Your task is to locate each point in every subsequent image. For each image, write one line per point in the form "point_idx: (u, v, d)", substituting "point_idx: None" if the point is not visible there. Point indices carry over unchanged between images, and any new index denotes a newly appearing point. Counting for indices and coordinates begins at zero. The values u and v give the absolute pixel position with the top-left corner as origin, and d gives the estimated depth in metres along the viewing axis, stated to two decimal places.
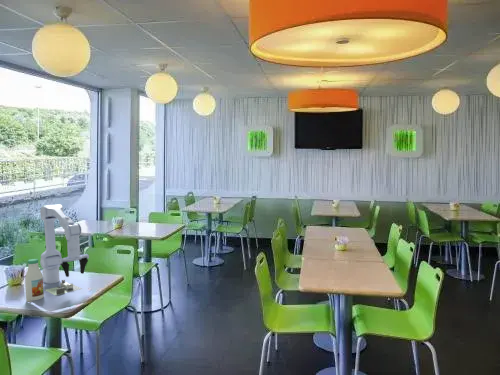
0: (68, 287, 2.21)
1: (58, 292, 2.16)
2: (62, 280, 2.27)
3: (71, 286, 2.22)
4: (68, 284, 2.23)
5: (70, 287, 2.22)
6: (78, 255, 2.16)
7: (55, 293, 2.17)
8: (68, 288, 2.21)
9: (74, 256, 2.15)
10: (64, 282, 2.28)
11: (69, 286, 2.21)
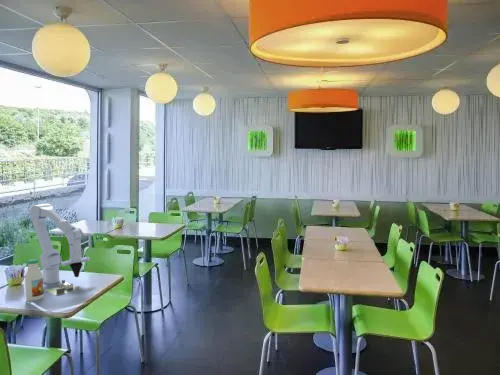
0: (68, 287, 2.21)
1: (58, 292, 2.16)
2: (62, 280, 2.27)
3: (71, 286, 2.22)
4: (68, 284, 2.23)
5: (70, 287, 2.22)
6: (79, 258, 2.30)
7: (55, 293, 2.17)
8: (68, 288, 2.21)
9: (76, 259, 2.28)
10: (64, 282, 2.28)
11: (69, 286, 2.21)
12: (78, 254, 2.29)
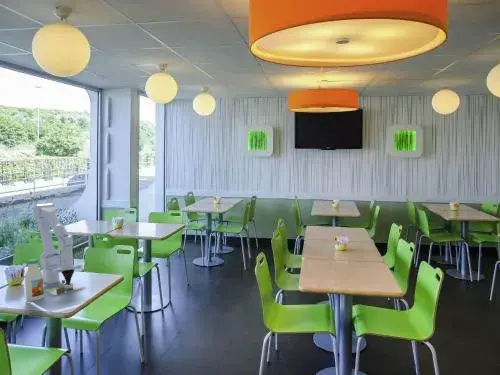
0: (68, 287, 2.21)
1: (58, 292, 2.16)
2: (62, 280, 2.27)
3: (71, 286, 2.22)
4: (68, 284, 2.23)
5: (70, 287, 2.22)
6: (71, 265, 2.27)
7: (55, 293, 2.17)
8: (68, 288, 2.21)
9: (67, 266, 2.25)
10: (64, 282, 2.28)
11: (69, 286, 2.21)
12: (70, 261, 2.26)
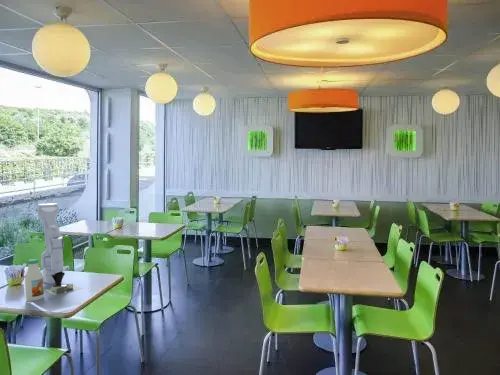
0: (71, 287, 2.22)
1: (58, 292, 2.16)
2: (54, 284, 2.21)
3: (72, 285, 2.23)
4: (68, 284, 2.22)
5: (72, 286, 2.23)
6: (63, 267, 2.23)
7: (55, 293, 2.17)
8: (71, 288, 2.22)
9: (60, 268, 2.21)
10: (55, 285, 2.22)
11: (72, 285, 2.22)
12: (62, 263, 2.22)
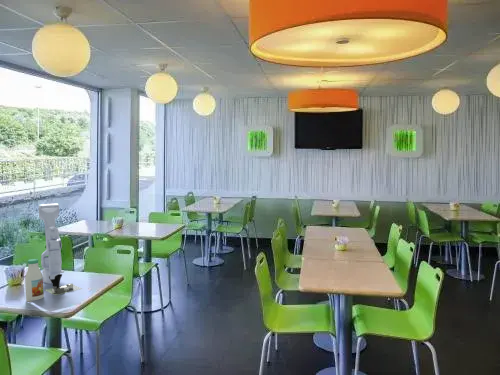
0: (72, 286, 2.23)
1: (58, 292, 2.16)
2: (55, 286, 2.17)
3: None
4: (69, 284, 2.22)
5: None
6: None
7: (55, 293, 2.17)
8: (72, 287, 2.23)
9: (60, 270, 2.19)
10: None
11: (72, 285, 2.23)
12: None
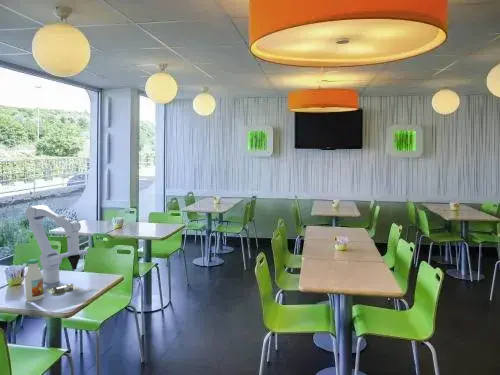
0: (72, 286, 2.23)
1: (58, 292, 2.16)
2: (55, 286, 2.17)
3: None
4: (69, 284, 2.22)
5: None
6: (77, 250, 2.30)
7: (55, 293, 2.17)
8: (72, 287, 2.23)
9: (74, 251, 2.28)
10: None
11: (72, 285, 2.23)
12: (76, 246, 2.29)
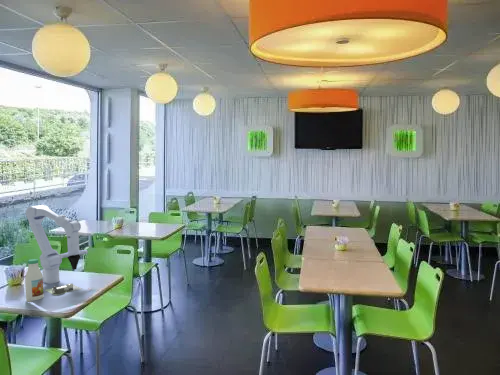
0: (72, 286, 2.23)
1: (58, 292, 2.16)
2: (55, 286, 2.17)
3: None
4: (69, 284, 2.22)
5: None
6: (77, 250, 2.30)
7: (55, 293, 2.17)
8: (72, 287, 2.23)
9: (74, 251, 2.28)
10: None
11: (72, 285, 2.23)
12: (76, 246, 2.29)
